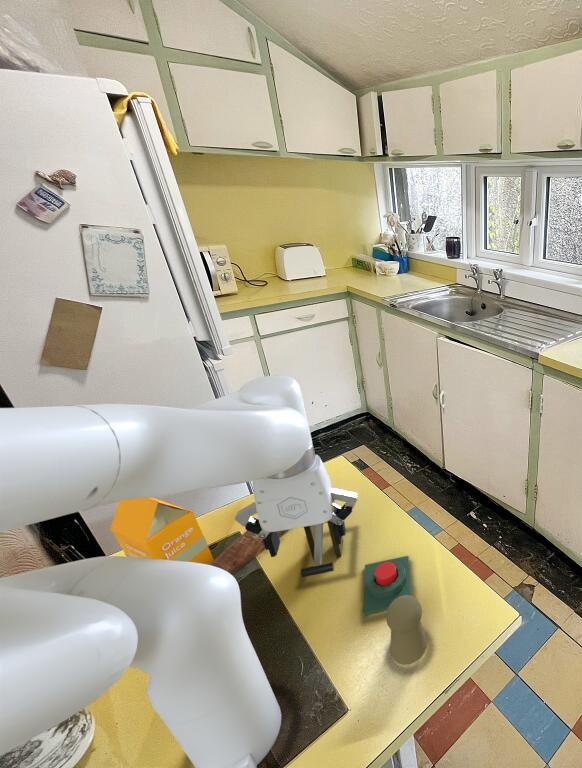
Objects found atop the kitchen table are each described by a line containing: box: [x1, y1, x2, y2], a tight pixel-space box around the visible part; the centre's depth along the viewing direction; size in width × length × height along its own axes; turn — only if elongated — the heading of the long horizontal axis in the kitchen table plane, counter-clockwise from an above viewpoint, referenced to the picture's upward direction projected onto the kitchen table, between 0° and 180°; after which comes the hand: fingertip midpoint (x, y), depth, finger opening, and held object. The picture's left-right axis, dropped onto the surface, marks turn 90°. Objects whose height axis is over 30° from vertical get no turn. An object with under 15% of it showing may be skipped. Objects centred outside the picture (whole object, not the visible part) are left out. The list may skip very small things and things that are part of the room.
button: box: [375, 562, 397, 586], centre depth 73 cm, size 4×4×2 cm
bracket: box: [303, 521, 344, 563], centre depth 79 cm, size 12×9×13 cm
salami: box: [210, 529, 290, 577], centre depth 79 cm, size 6×19×6 cm, turn 156°
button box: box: [362, 555, 413, 617], centre depth 74 cm, size 10×8×4 cm
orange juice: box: [109, 497, 215, 565], centre depth 72 cm, size 8×9×20 cm
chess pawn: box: [385, 595, 428, 666], centre depth 63 cm, size 6×6×11 cm
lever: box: [300, 522, 335, 578], centre depth 74 cm, size 12×5×2 cm, turn 17°
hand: (308, 544), depth 68 cm, fingers open, 9 cm apart
